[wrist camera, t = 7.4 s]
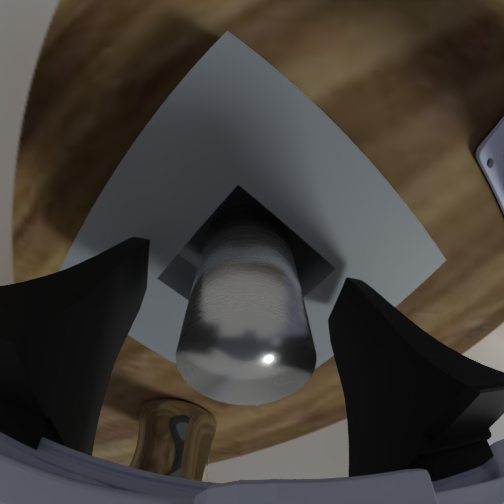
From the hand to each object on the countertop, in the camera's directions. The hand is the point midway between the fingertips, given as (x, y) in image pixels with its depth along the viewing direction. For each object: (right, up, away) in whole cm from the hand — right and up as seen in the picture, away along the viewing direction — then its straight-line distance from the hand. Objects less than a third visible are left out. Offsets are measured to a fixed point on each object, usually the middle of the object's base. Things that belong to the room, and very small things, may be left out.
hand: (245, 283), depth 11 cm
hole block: (0, +2, +3) cm, 4 cm away
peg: (0, +1, +3) cm, 3 cm away
